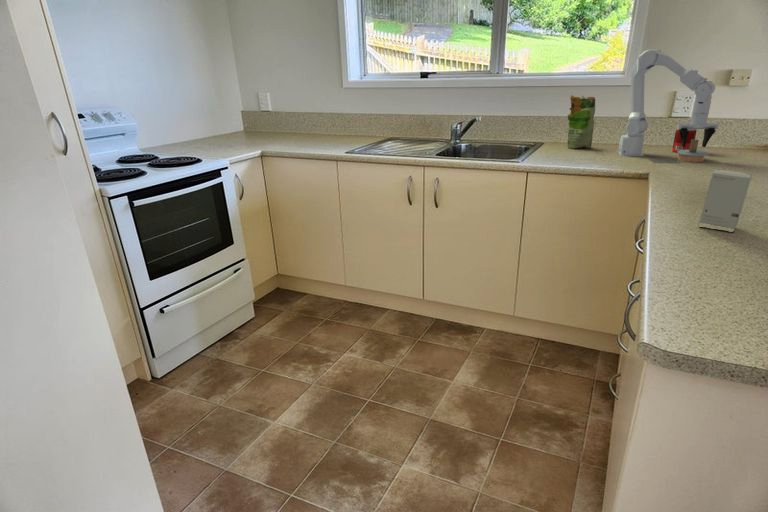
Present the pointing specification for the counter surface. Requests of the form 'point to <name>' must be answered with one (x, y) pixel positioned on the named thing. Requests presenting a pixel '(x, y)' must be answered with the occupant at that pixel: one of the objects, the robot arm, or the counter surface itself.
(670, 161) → the mat
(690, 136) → the canned food
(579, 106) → the pouch
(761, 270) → the counter surface
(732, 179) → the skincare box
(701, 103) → the robot arm
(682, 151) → the lid
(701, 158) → the bowl
